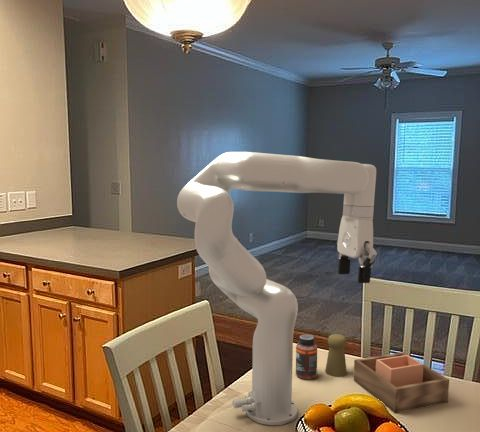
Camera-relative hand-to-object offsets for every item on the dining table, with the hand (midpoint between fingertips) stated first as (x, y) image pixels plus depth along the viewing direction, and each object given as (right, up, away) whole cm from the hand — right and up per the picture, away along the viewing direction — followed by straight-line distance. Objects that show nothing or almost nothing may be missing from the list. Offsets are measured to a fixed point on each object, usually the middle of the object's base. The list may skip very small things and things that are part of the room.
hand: (353, 278), depth 126 cm
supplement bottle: (-11, -29, +11) cm, 33 cm away
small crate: (+12, -29, +3) cm, 32 cm away
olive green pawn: (-2, -29, +13) cm, 32 cm away
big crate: (+13, -30, +3) cm, 33 cm away
